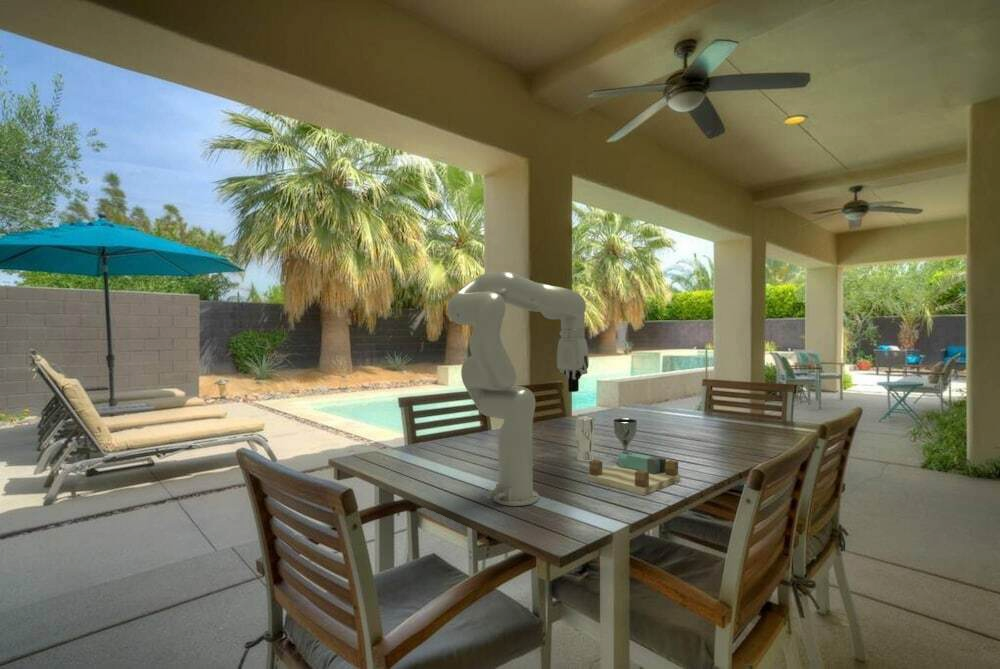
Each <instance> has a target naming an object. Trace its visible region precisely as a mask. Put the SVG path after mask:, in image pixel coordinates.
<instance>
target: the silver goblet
mask: <svg viewBox="0 0 1000 669" xmlns="http://www.w3.org/2000/svg"><path fill="white" fill-rule="evenodd" d="M637 425H638V423H637V420H636V419H633V418H616V419H615V418H614V419H613V431H614V434H615V437H616V438H617V440H618V441H619V442H620V443H621V446H622V447H623V451H628V447H629V445H630V444H631V442H632V441H633V440H634V439H635V437H636V434H637V429H638V426H637ZM614 463H615V464H616V465H619V460H616V461H615V462H614Z"/></svg>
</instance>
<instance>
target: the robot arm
mask: <svg viewBox="0 0 1000 669" xmlns="http://www.w3.org/2000/svg"><path fill="white" fill-rule="evenodd" d="M506 304H508V305H511V306H512V307H513V306H514V307H517V308H519V309H522V310H525V311H529V312H536V313H537V312H539V313H541V315H542V316H543V317H544V318H546V319H549V320H560V331H559V335H560V339H559V341H558V344H557V350H556V353H557V354H556V367H557V368H558V370H559V372H560V373H562V374H564V375H565V377H566V379H567V381H568V382H567V386H568V392H569V393H576V392H579V388H580V387H579V386H580V385H579V384H580V383H579V380H580V379H581V377H582V376H583V375H586V374H588V368H589V365H590V364H589V360H590V359H589V348H588V342H587V339H586V338H585V336H586V335H585V312H586V309H587V305H586V300H585V299H584V297H583V295H581V294H580V293H578V292H576V291H574V290H571V289H569V288H566V287H561V286H555V285H550V284H547V283H540V282H536V281H533V280H531V279H529V278H527V277H524V276H521V275H519V274H518V273H515V272H511V271H498V272H497V271H496V272H487V273H486V272H485V273H483V274H480V275H479V276H477V277H476V278H474V279H472V280H471V281H470V282H468V283H467V284H466V285H464V286H463V287H462V288H461V289H459V290H458V291H457V292H456V293H455V294H453V296H452V297H451V298H450V299H449V301H448V305H447V315H448V317H449V318H450V320H451V321H452V322H453V323H455V324H457V325H462V326H465V325H468V326H469V325H473V330H472V333H471V336H470V338H469V351H470V353H471V356H469V357H468V356H467V358H466V359H465V360H464V361H463V363H462V366H461V370H460V371H461V372H460V373H461V374H460V376H461V379H462V384H463V386H464V387H465V389H466V391H467V392H468V395H469V396H470V398H471V400H472V401H473V404H474V405H475V407H476V408H477V409H478V411H479V412H480V413H481V414H482V415H484V416H486V417H489V418H495V419H503V420H504V421H503V423H502V425H501V426H500V428H499V432H498V433H497V434H498V435H497V436H498V437H497V449H498V450H497V451H498V452H497V454H498V456H497V460H498V483H496V484H495V487H494V489H492V490H491V489H490V490H487V491H486V492H485V497H486V499H488V500H489V499H491V498H493V501H494V502H495V503H497V504H499V505H503V506H509V507H522V506H523V507H524V506H528V505H532V504H535V503H536V502H537V501H539V493H538V492H537V491H535V490H534V489H533V486H534V485H533V482H534V481H533V473H534V472H533V425H534V424H533V423H534V415H535V410H536V398H535V394H534V393H533V391H532V390H530V389H529V388H526V387H525V386H520V385H515V384H516V382H517V372H516V369H515V367H514V364H513V363H512V361H511V359H510V356H509V355H508V353H507V351H506V348H505V346H504V344H503V342H502V340H501V338H502V337H501V329H502V323H503V321H504V317H505V313H506Z"/></svg>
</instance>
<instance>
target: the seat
mask: <svg viewBox="0 0 1000 669" xmlns="http://www.w3.org/2000/svg"><path fill="white" fill-rule="evenodd" d="M654 457H655V456H654ZM655 458H658V457H655ZM659 458H660V457H659ZM588 463H589V468H588V469H589V473H588V474H587V481H588V482H591V483H595V484H599V485H603V486H607V487H611V488H613V489H618V490H621V491H624V492H625V491H626V492H629V493H632V494H637V495H639V496H643V495H644V496H646V495H649V494H651V492H652V493H655V492H657V491H660V490H661V488H662V489H664V488H666V486H667V487H669V486H671V485H670V484H672V485H674V484H676V483H675V482H677V483H678V481H679V482H681V474H679V461H678V460H677V461H676V460H672V459H669V460H667V459H666V458H660V472H657V473H655V474H654V473H649V472H647V471H642V470H636V469H632V468H627V467H621V466H619V465H618V464H616V465H614V466H609V467H607V468H604V469H603V461H601V460H598V459H594V460H593V461H588ZM673 483H674V484H673ZM668 485H669V486H668ZM663 487H664V488H663ZM656 490H657V491H656Z"/></svg>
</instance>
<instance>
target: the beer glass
mask: <svg viewBox="0 0 1000 669" xmlns="http://www.w3.org/2000/svg"><path fill="white" fill-rule="evenodd" d="M595 423H596V422H595V418H594V417H592V416H577V417H576V418H575V427H574V428H575V430H574V431H575V439H576V444H577V456H576V460H577V461H580V462H586V463H587V462H589V461H593V460H595V457H594V449H593V448H594V441H595V437H596V436H595V435H596V428H595Z"/></svg>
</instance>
